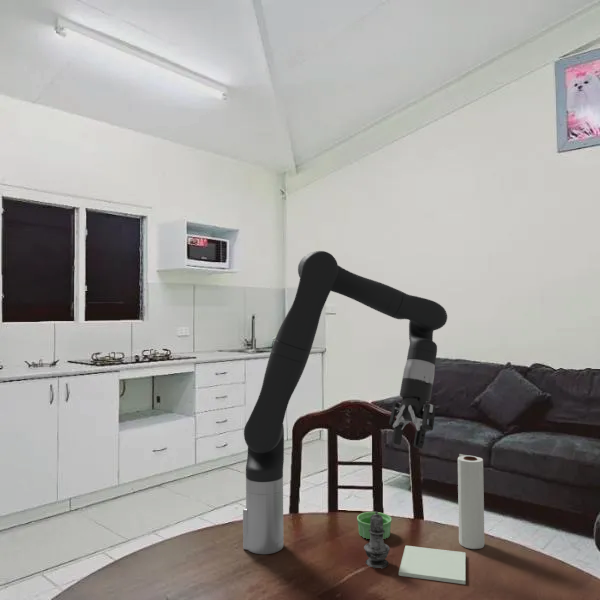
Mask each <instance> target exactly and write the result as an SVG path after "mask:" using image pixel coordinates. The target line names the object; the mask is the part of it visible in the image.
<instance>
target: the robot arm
mask: <svg viewBox="0 0 600 600" xmlns="http://www.w3.org/2000/svg"><path fill="white" fill-rule="evenodd" d="M297 274H298V277H299V282H298V285H297V289H296V293H295V297H294V300H293V302H292V305H291V307H290V309H289V310H288V312H287V313H286V316H285V317H284V319H283V321H282V323H281V324H280V326H279V329H278V331H277V334H276V336H275V339H274V342H273V345H272V348H271V351H270V354H269V358H268V360H267V365H266V368H265V373H264V376H263V381H262V385H261V389H260V392H259V395H258V398H257V400H256V402H255V405H254V407H253V410H252V411H251V413H250V415H249V418H248V420H247V421H246V423H245V425H244V428H243V437H244V441H245V444H246V446H247V456H246V457H247V458H246V465H245V507H244V509H243V510H242V549H243V550H247V551H248V552H250V553H253V554H257V555H269V554H275V553H277V552H279V551H281V550H282V549H283V548H284V462H285V461H284V460H285V455H284V454H285V451H284V450H285V428H284V420H285V417H286V413H287V410H288V409H287V408H288V405H289V403H290V400H291V397H292V396H293V394H294V391H295V390H296V387H297V386H298V384H299V382H300V380H301V378H302V375H303V373H304V370H305V368H306V365H307V362H308V359H309V356H310V353H311V351H312V347H313V344H314V340H315V336H316V334H317V331H318V328H319V327H318V326H319V323H320V319H321V316H322V315H321V314H322V312H323V310H324V306H325V304H326V302H327V300H328V297H329V296H330V293H331V292H334V293H336V294H339V295H341V296H344V297H346V298H349V299H351V300H353V301H355V302H359V303H360V304H362V305H365V306H366V307H368V308H371V309H373V310H375V311H377V312H379V313H381V314H383V315H386V316H389V317H390V318H393V319H395V320H396V319H397V320H409V323H408V336H409V337H408V339H409V347H408V352H407V356H406V361H405V366H404V368H403V373H402V380H401V385H400V391H399V396H400V397H401V398H402V401H401V403H400V402H398V401H394V402H393V403H392V408H391V412H390V418H389V422H388V423H389V425H391V426H392V429H393V432H392V438H391V439H392V441H391V443H392V444H394V445H398V446H400V445H402V439H403V434H404V433H403V432H404V430H403V429H404V428H405V427H406V425H408V424H409V423H410V422H412V423H413V424H414V425H415V428H416V430H415V432H414V433H415V434H414V440H413V447H414V448H416V449H423V448H424V447H423V446H424V445H425V438H426V433H428V431H430V432H431V431H433V430H434V424H435V417H436V415H435V414H436V405H434V404H431V403H429V402H431V399H432V392H433V391H432V390H433V385H434V380H435V379H434V378H435V365H436V360H437V355H438V354H437V352H438V345H437V343H436V342H435V341H433V338H434V337H433V335H434V331H437V330H440V329H441V328H442V327H445V325H446V324H447V321H448V313H447V311H446V309H445V308H444V307H443V306H442V305H441V304H440V303H438V302H436V301H434V300H431V299H428V298H424V297H419V296H417V295H412V294H408V293H406V292H403V291H401V290H400V289H397V288H396V287H395V288H394V287H392V286H390V285H389V284H386V283H385V284H384V283H382V282H379V281H376V280H373V279H370V278H367V277H365V276H361V275H358V274H356V273H355V272H351V271H349V270H348V269H345V268H343V267H341V266H340V265H339V264H338V262H337V259H336V258H335V257H334V256H333V255H332V253H330V252H328V251H324V250H318V251H316V250H315V251H313V252H310V253H307V254H305V256H303V257H302V258H301V259H300V261H299V263H298V266H297ZM395 419H396V420H395Z"/></svg>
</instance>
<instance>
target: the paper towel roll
mask: <svg viewBox="0 0 600 600" xmlns="http://www.w3.org/2000/svg"><path fill="white" fill-rule="evenodd" d="M458 455H459V456H458V457H457V485H458V486H457V493H458V494H457V495H458V498H457V500H458V502H457V504H458V506H457V507H458V509H457V510H458V543H459V545H460V546H462V547H464V548H466V549H469V550H470V549H471V550H478V549H479V550H480V549H482V548H484V547H485V501H484V500H485V498H484V493H485V492H484V490H485V489H484V487H485V486H484V484H485V483H484V459H483V458H482V457H479V456H475V455H469V454H468V455H467V454H462V453H459V454H458Z"/></svg>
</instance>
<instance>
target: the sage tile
mask: <svg viewBox="0 0 600 600" xmlns="http://www.w3.org/2000/svg"><path fill="white" fill-rule="evenodd" d="M398 576H401V577H407V578H414V579H422V580H430V581H437V582H445V583H452V584H459V585H466V552H464V551H456V550H448V549H447V550H446V549H439V548H438V549H437V548H429V547H421V546H414V545H413V546H412V545H405V547H404V550H403V554H402V558H401V561H400V566H399V569H398Z"/></svg>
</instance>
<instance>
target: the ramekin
mask: <svg viewBox="0 0 600 600" xmlns="http://www.w3.org/2000/svg"><path fill="white" fill-rule="evenodd" d="M375 512H376V511H367V512H362V513H360V514H358V515H357V516H356V520H357V527H358V534H359V536H360V537H361V536H362V537H363V538H362V537H361V538H362V539H364V538H366V539H365V540H367V539H370V532H369V529H370V518H371V516H372V515H374V514H376V513H375ZM377 512H378V511H377ZM377 514H378V515H381V516H382V518H383V530H384V531H385V532H384V533H383V539H385V540H387V539H388V538H389V537H390V535H391V526H392V524H391V523H392V517H391V515H388V514H387V513H383V512H378V513H377ZM386 538H387V539H386Z"/></svg>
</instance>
